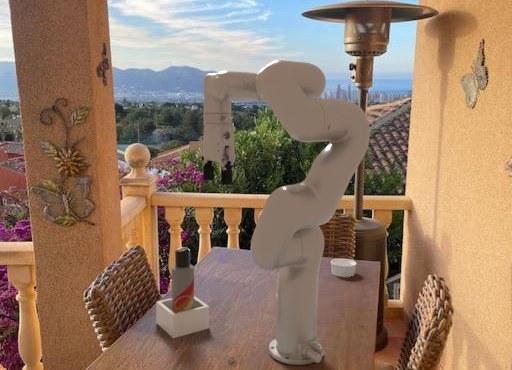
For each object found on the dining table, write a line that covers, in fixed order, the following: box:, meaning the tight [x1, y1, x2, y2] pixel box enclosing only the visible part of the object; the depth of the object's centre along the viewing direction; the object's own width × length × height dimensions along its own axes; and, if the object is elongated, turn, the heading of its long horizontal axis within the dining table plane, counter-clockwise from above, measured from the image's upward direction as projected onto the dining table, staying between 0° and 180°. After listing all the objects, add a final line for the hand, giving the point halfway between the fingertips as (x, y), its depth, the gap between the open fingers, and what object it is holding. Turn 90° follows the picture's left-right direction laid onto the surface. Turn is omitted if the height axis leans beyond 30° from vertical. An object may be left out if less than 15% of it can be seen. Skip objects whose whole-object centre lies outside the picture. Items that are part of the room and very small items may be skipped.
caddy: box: [155, 295, 210, 339], centre depth 125 cm, size 10×10×6 cm
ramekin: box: [330, 258, 357, 278], centre depth 167 cm, size 9×9×4 cm
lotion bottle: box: [171, 247, 195, 313], centre depth 124 cm, size 6×6×20 cm
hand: (217, 182), depth 133 cm, fingers open, 9 cm apart
